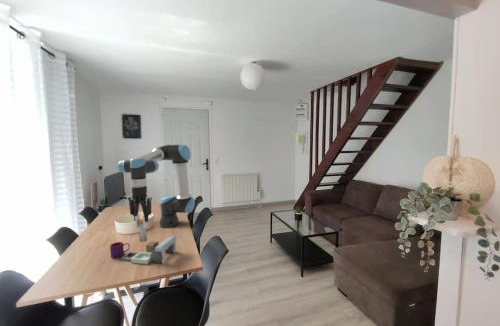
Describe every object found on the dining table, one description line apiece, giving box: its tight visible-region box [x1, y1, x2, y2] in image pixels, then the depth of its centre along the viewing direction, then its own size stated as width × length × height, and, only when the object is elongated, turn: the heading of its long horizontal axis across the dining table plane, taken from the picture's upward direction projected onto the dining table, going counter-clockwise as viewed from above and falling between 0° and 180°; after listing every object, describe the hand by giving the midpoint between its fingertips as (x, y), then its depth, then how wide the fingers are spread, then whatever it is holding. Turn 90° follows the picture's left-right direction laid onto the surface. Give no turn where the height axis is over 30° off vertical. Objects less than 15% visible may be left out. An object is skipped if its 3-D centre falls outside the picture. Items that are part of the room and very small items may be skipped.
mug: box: [109, 241, 131, 259], centre depth 137 cm, size 7×10×7 cm
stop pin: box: [138, 218, 148, 243], centre depth 129 cm, size 4×4×12 cm
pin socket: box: [120, 251, 139, 262], centre depth 133 cm, size 7×7×2 cm
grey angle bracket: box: [150, 234, 177, 264], centre depth 133 cm, size 14×8×10 cm, turn 169°
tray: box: [130, 251, 152, 265], centre depth 130 cm, size 8×10×2 cm
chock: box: [145, 240, 160, 253], centre depth 141 cm, size 6×4×5 cm
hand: (141, 226), depth 128 cm, fingers closed on stop pin, 4 cm apart
